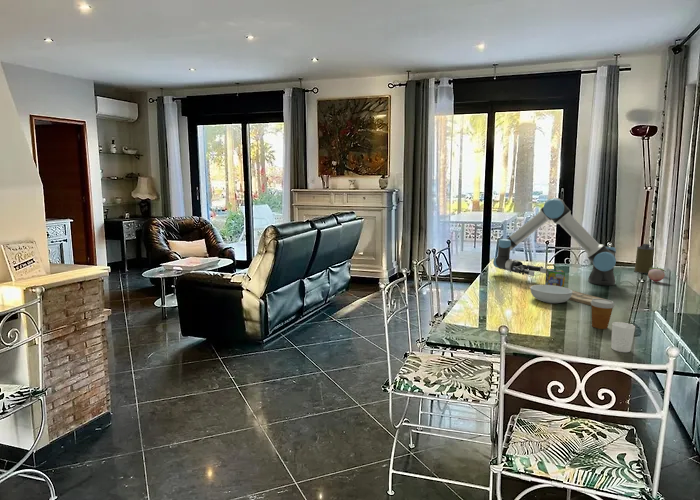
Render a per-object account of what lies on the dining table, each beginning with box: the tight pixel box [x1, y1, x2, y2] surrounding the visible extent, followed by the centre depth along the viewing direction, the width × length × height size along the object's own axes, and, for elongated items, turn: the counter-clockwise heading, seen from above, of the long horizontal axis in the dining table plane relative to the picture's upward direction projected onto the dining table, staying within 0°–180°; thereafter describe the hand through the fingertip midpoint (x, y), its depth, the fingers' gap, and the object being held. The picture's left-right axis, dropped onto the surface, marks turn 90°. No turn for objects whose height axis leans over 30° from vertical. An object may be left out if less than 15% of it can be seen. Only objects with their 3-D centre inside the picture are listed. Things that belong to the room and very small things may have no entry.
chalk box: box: [544, 263, 566, 287], centre depth 294 cm, size 9×9×15 cm
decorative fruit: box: [647, 266, 666, 283], centre depth 322 cm, size 9×8×10 cm
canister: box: [633, 243, 655, 274], centre depth 352 cm, size 11×10×20 cm
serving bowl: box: [529, 284, 574, 304], centre depth 268 cm, size 21×21×7 cm
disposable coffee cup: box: [590, 298, 615, 330], centre depth 226 cm, size 10×10×12 cm
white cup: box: [610, 321, 636, 353], centre depth 198 cm, size 8×8×10 cm
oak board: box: [569, 290, 608, 306], centre depth 276 cm, size 14×24×2 cm, turn 29°
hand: (541, 272), depth 302 cm, fingers open, 13 cm apart
